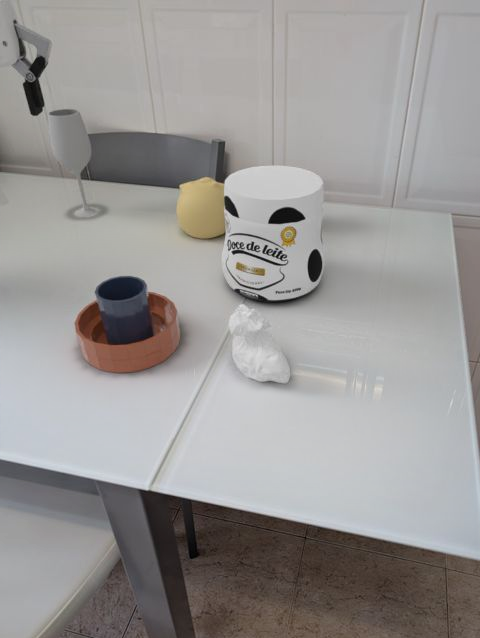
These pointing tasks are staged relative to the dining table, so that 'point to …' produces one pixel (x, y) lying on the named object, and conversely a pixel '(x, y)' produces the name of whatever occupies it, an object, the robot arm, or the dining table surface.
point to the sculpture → (202, 208)
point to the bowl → (130, 354)
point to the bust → (256, 347)
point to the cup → (125, 310)
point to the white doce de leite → (273, 232)
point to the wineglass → (71, 147)
